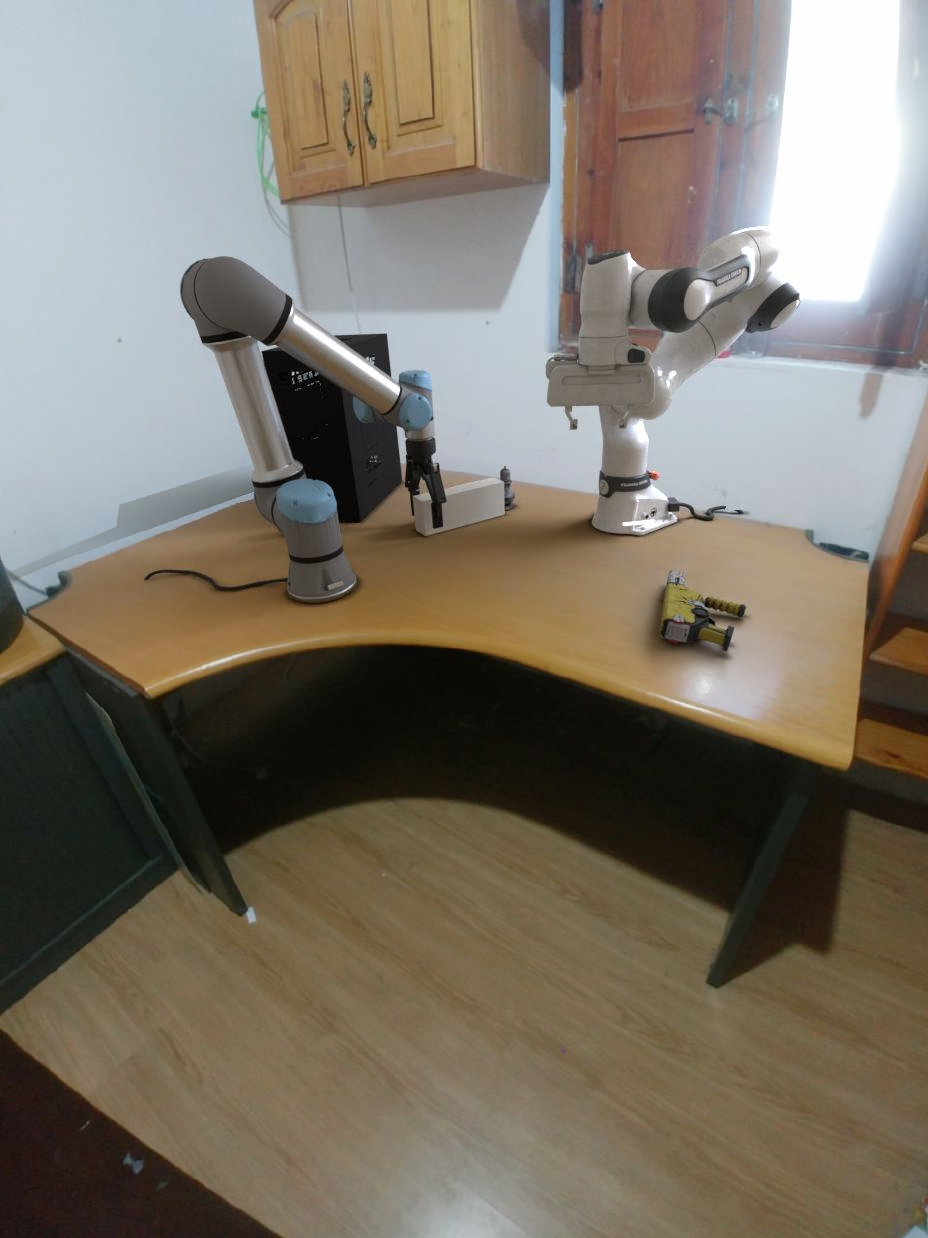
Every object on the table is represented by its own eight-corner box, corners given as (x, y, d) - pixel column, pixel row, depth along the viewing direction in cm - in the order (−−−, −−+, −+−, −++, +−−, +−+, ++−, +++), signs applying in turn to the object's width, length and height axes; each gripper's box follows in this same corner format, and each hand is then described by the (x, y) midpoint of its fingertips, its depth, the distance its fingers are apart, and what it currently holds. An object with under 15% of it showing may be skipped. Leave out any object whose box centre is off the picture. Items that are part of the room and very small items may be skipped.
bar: (493, 509, 174) (492, 477, 169) (504, 514, 170) (504, 481, 165) (415, 530, 163) (412, 495, 158) (425, 536, 159) (422, 501, 154)
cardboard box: (360, 522, 170) (335, 348, 148) (295, 519, 175) (261, 351, 152) (402, 481, 202) (386, 333, 179) (346, 480, 206) (324, 335, 184)
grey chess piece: (514, 510, 172) (514, 468, 166) (494, 509, 173) (493, 468, 167) (517, 503, 177) (516, 462, 171) (497, 502, 178) (496, 462, 172)
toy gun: (745, 580, 121) (669, 567, 125) (754, 637, 101) (663, 618, 105) (739, 601, 124) (664, 587, 127) (746, 660, 103) (657, 641, 107)
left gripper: (386, 432, 157) (395, 512, 168) (429, 449, 139) (436, 537, 150) (411, 427, 160) (419, 506, 171) (457, 443, 142) (462, 530, 153)
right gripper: (545, 356, 111) (544, 433, 118) (660, 352, 108) (652, 431, 115) (546, 352, 116) (545, 426, 123) (656, 348, 113) (648, 424, 120)
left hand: (427, 521), depth 161 cm, fingers open, 11 cm apart
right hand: (597, 428), depth 119 cm, fingers open, 8 cm apart
